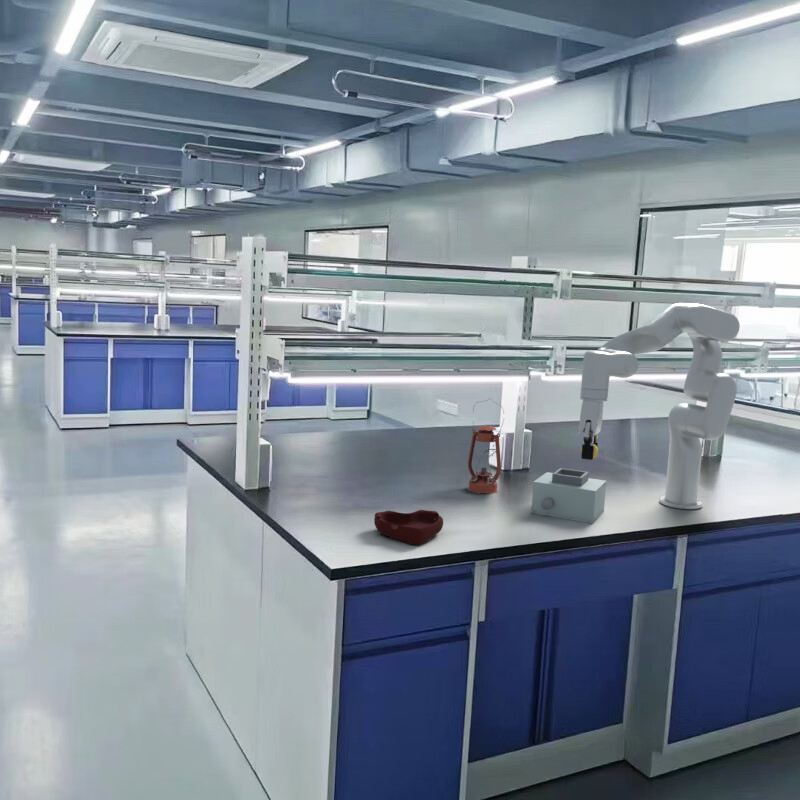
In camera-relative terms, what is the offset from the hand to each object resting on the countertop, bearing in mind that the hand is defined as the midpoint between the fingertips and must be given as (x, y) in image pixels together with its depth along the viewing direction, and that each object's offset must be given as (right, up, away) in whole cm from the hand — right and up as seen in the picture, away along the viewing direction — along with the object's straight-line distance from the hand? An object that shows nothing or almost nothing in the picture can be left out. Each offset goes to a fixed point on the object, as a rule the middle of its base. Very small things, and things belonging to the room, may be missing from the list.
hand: (589, 456), depth 224 cm
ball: (0, +2, 0) cm, 2 cm away
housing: (-5, -17, +5) cm, 18 cm away
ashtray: (-51, -20, -21) cm, 59 cm away
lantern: (-28, -13, +27) cm, 41 cm away
